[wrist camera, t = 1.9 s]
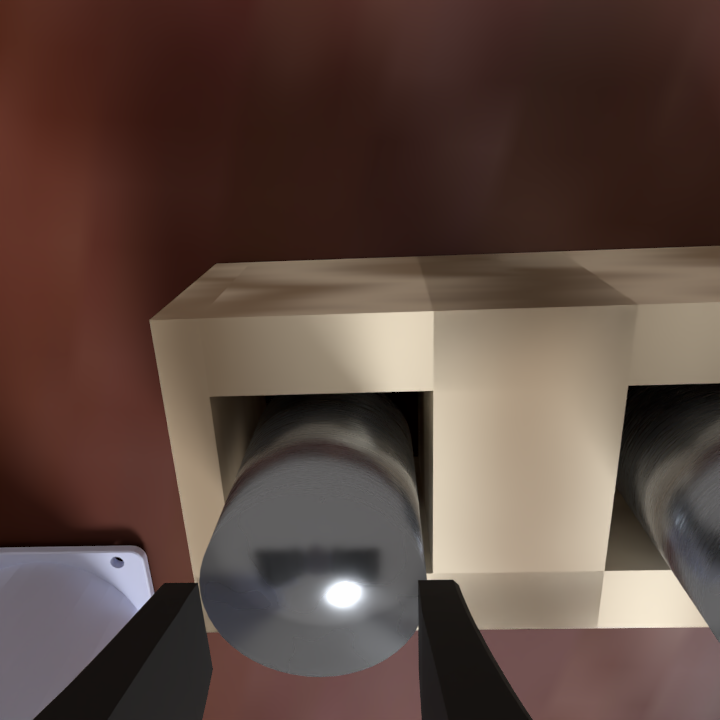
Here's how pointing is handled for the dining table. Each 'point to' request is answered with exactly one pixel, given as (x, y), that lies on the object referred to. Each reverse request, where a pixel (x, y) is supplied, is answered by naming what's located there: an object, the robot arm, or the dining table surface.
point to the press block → (463, 405)
